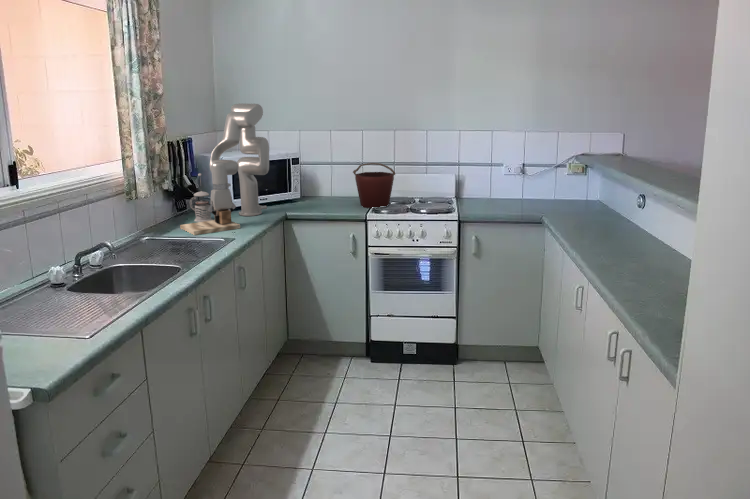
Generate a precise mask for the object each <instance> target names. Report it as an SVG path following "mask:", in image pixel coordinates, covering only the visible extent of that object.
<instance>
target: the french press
mask: <svg viewBox="0 0 750 499" xmlns="http://www.w3.org/2000/svg"><path fill="white" fill-rule="evenodd" d="M197 176H198V177H201V176H203V174H202V173H198V174H197ZM199 180H200V181H199V182H200V185H202V181H201V178H199ZM209 195H210V193H209V192H206V191H202V190H200V191H198V192H195V193H194V194H193V197H191V198H190V200H189V202H190V204H189V206H190V208H191V209H193V208H194V209H193V211H194V213H195V218H194V220H193V222H195V223H197V222H204V221H211V220H214V218H212V216H211V214H212V213H211V212H210V211H208V208H209V207H210V205H211V203H210V201H208V200H198V201H195V205H194V206H193V200H196V197H209Z"/></svg>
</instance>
